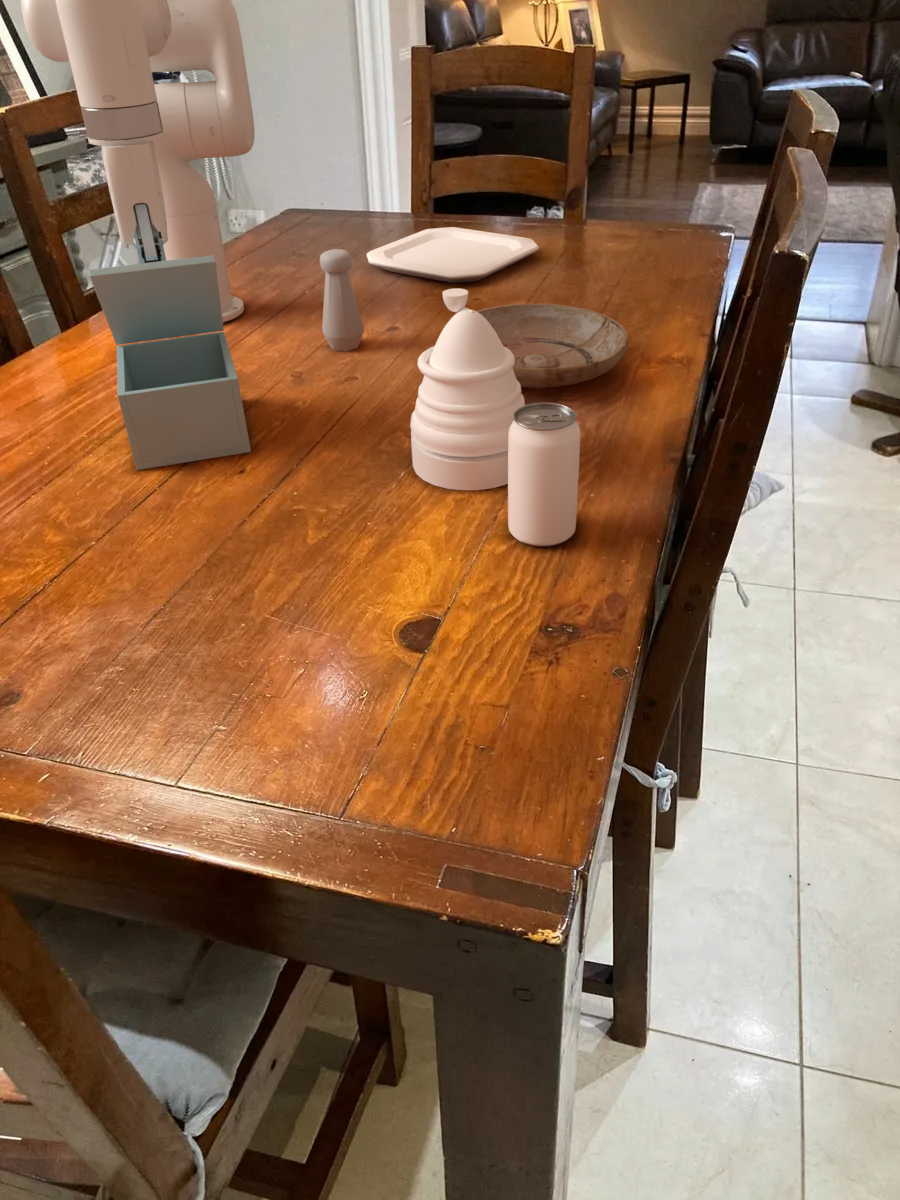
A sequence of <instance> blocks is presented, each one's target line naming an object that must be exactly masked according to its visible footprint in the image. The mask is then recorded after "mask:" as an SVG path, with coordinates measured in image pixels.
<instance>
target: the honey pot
mask: <svg viewBox="0 0 900 1200" xmlns="http://www.w3.org/2000/svg"><path fill="white" fill-rule="evenodd" d="M468 299H469V291H468V290H467V289H465V288H448V289H445V290H443V291H442V300H443V303H444V305H445V306H446V308H447V310H449V311H450V312H452V313H454V315H453V316H452V317H451V318H450V319H449V320H448V322H447V323H446V324H445V326H444V327H443V329H442V331H441V332H440V334H439V336H438V338H437V340H436V342H435V345H433V346H431V347H429V348H428V349H426V350H424V351H423V352H422V353H421V354H420V355H419V357H418V358H417V363H416V364H417V368H418V369H419V372H420V373H421V374H422V375H423V378H422V382H421V383H420V384H419V386H418V391H417V398H416V400H415V406H414V410H413V411H412V413H411V415H410V416H411V417H410V425H409V426H410V436H411V437H410V444H411V459H412V468H413V470H414V473H415V474H416V475H417V476H418V477H419V478H420V479H421V480H423V482H427V483H428V484H431V485H432V486H436V487H440V488H443V489H447V490H455V491H483V490H489V489H495V488H498V487H502V486H505V485H508V435H509V429H510V426H511V424H512V422H513V420H514V419H513V414H514V412H515V411H516V410H517V409H519V408H520V407H522V406H525V405H526V402H525V397H524V395H523V394H522V387H521V385H520V383H519V382H518V381H517V379H516V376H515V374H514V371H513V366H514V364H515V357H514V355H513V353H512V352H511V351H510V350H509V349H507V348H505V347H504V346H503V345H502V343H501V341H500V339H499V337H498V335H497V333H496V332H495V330H494V329H493V327H492V326H491V325H490V323H489V322H488V321H487V320H486V319H485V318H484V316H482V315H481V314H480V313H478V312H476V311H477V310H475V309H471V308H468V307H466V305H467V302H468Z"/></svg>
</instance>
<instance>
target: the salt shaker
mask: <svg viewBox="0 0 900 1200" xmlns="http://www.w3.org/2000/svg"><path fill="white" fill-rule="evenodd" d="M319 265H320V268H321V270H322V271H323V272H325V276H324V290H323V292H324V293H323V307H322V308H323V309H322V327H321V331H322V335H323V336H324V338H325V340H326V342H327V343H328V345H329V347H330V348H331V349H332V350H333V351H337V352H349V351H352V350H355V349H358V348H359V345H360V343H361V340H362V337H363V335H364V333H365V326H364V323H363V319H362V316H361V313H360V310H359V305H358V302H357V299H356V295H355V291H354V288H353V283H352V279H351V276H350V270H351V269H352V268H353V257H352V254H351V253H350V251H348V250H346V249H341V248H333V249H329V250H326V251H324V252H322V253H321V254H320V256H319Z"/></svg>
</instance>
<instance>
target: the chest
mask: <svg viewBox="0 0 900 1200" xmlns="http://www.w3.org/2000/svg"><path fill="white" fill-rule="evenodd" d="M116 378H117V379H116V381H117V382H116V383H117V386H116V387H117V399H118V404H119V407H120V411H121V415H122V418H123V422H124V427H125V429H126V430H125V431H126V434H127V437H128V441H129V445H130V449H131V452H132V456H133V461H134V464H135V468H136V471H141V470H147V469H148V470H149V469H154V468H160V467H166V466H173V465H178V464H184V463H190V462H196V461H202V460H210V459H214V458H223V457H229V456H233V455H240V454H246V453H251V452H252V450H251V445H250V439H249V438H250V437H249V433H248V427H247V421H246V415H245V410H244V405H243V398H242V393H241V388H240V383H239V378H238V374H237V371H236V367H235V364H234V361H233V357H232V354H231V350H230V347H229V344H228V341H227V337H226V333H225V331H217V332H210V333H202V334H195V335H187V336H180V337H172V338H165V339H157V340H150V341H142V342H135V343H127V344H120V345H116Z"/></svg>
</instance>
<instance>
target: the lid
mask: <svg viewBox="0 0 900 1200" xmlns="http://www.w3.org/2000/svg"><path fill="white" fill-rule="evenodd" d="M88 275H89V278H90V281H91V283H92V287H93V288H94V292H95V294H96V297H97V299H98V302H99V305H100V307H101V309H102V312H103V314H104V317H105V319H106V323H107V326H108V328H109V330H110V333H111V335H112V338H113V340H114V343H115V345H116V346H120V345H128V344H135V343H143V342H150V341H158V340H165V339H173V338H180V337H187V336H195V335H202V334H210V333H218V332H225V331H224V330H225V329H224V322H223V319H222V311H221V302H220V294H219V285H218V277H217V268H216V261H215V256H214V255H211V256H202V257H194V258H185V259H176V260H168V261H159V262H150V263H142V264H140V263H134V264H126V265H117V266H108V267H100V268H99V267H98V268H92V269H88Z"/></svg>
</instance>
